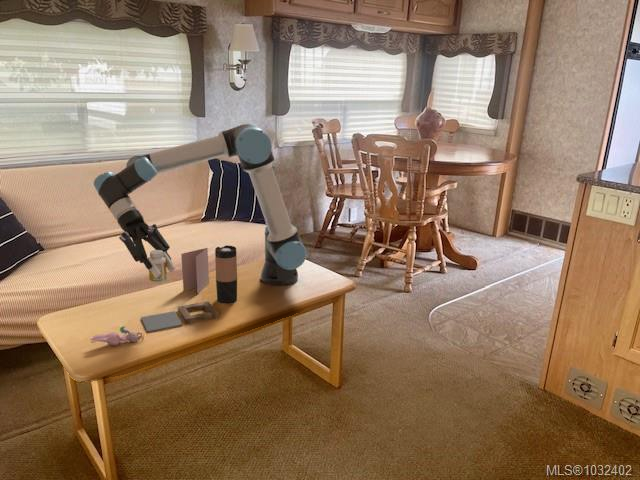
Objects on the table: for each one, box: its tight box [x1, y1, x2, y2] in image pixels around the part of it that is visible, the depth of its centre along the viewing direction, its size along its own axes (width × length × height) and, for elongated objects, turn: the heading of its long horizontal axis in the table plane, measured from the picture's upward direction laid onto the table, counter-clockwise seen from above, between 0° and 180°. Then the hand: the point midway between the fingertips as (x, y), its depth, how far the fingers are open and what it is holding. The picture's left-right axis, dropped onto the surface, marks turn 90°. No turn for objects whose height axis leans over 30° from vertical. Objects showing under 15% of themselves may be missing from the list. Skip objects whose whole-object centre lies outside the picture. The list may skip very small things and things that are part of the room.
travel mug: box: [214, 245, 238, 305], centre depth 186 cm, size 8×8×20 cm
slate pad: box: [140, 310, 183, 334], centre depth 171 cm, size 11×11×1 cm
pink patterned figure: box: [90, 325, 145, 346], centre depth 156 cm, size 6×6×15 cm
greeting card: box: [180, 247, 210, 295], centre depth 196 cm, size 11×7×15 cm, turn 135°
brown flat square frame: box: [177, 300, 219, 324], centre depth 177 cm, size 11×11×2 cm
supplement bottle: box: [148, 249, 168, 284], centre depth 165 cm, size 5×5×10 cm
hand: (165, 272), depth 164 cm, fingers closed on supplement bottle, 5 cm apart
